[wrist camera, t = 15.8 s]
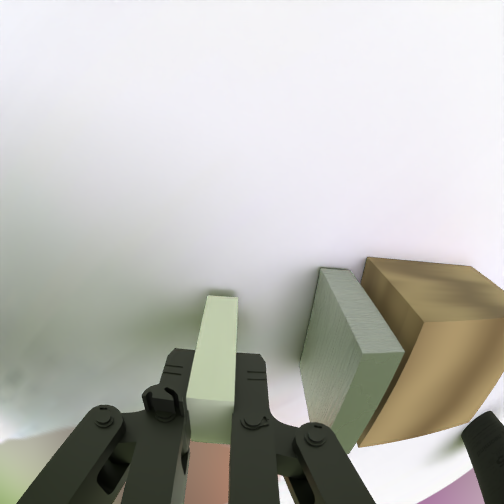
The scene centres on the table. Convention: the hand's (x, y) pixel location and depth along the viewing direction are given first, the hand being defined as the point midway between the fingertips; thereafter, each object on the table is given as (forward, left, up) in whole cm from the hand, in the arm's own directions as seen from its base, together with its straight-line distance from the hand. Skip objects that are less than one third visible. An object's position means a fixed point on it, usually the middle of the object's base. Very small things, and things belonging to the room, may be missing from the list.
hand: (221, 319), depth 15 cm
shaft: (+13, 0, -1) cm, 14 cm away
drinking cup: (+30, -16, -1) cm, 34 cm away
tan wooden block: (+11, 0, -1) cm, 11 cm away
